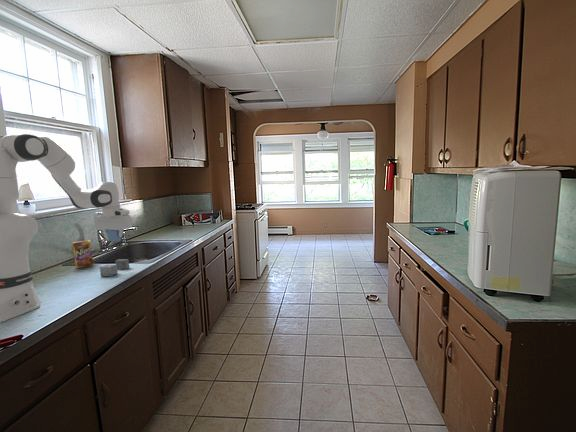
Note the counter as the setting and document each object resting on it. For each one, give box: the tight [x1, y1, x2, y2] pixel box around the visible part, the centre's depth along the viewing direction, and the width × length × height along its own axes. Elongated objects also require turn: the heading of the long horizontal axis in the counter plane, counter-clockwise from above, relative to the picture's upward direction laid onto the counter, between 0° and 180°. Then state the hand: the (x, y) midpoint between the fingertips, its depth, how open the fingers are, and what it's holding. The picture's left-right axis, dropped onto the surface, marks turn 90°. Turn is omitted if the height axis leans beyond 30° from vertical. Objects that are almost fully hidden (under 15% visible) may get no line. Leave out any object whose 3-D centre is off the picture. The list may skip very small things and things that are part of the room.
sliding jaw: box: [99, 263, 118, 277], centre depth 169 cm, size 6×6×5 cm
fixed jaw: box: [115, 258, 130, 270], centre depth 180 cm, size 3×6×5 cm, turn 83°
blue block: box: [107, 229, 122, 242], centre depth 174 cm, size 4×5×6 cm
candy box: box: [72, 239, 94, 270], centre depth 187 cm, size 9×4×15 cm, turn 123°
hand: (114, 236), depth 174 cm, fingers closed on blue block, 5 cm apart
